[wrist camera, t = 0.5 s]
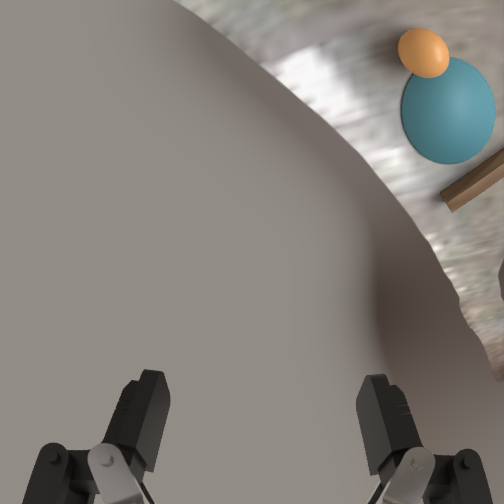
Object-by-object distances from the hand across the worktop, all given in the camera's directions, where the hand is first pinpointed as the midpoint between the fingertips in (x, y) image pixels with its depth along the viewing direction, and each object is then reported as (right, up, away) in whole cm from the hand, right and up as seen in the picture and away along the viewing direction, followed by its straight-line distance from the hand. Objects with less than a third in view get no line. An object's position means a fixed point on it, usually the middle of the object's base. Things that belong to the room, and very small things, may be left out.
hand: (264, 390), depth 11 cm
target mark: (+23, +22, +16) cm, 35 cm away
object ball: (+16, +25, +10) cm, 32 cm away
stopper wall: (+30, +16, +20) cm, 40 cm away
